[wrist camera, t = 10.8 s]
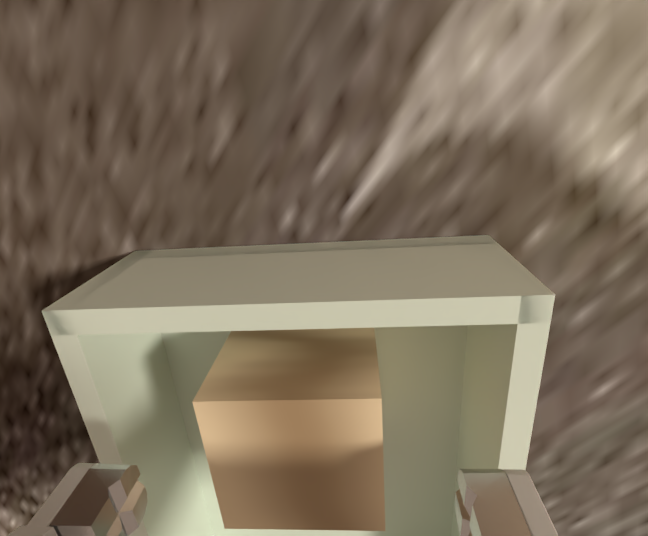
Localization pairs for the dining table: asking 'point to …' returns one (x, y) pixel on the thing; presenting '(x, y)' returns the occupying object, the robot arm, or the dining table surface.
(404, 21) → the dining table surface
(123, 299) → the tote
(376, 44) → the dining table surface
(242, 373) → the cube
